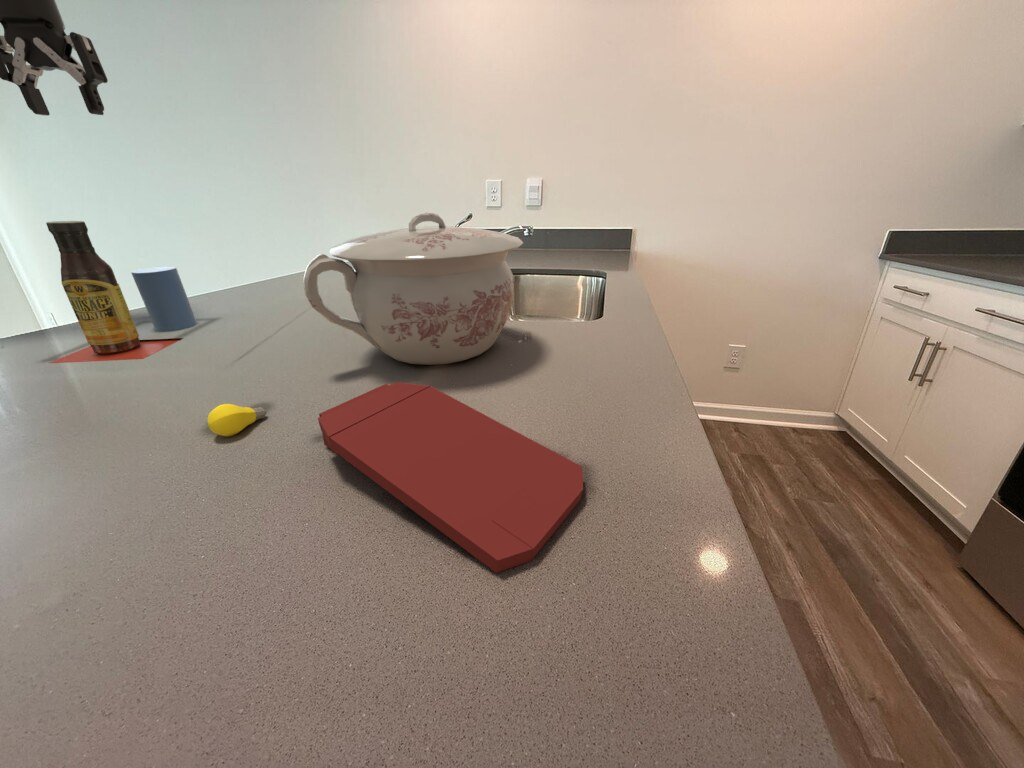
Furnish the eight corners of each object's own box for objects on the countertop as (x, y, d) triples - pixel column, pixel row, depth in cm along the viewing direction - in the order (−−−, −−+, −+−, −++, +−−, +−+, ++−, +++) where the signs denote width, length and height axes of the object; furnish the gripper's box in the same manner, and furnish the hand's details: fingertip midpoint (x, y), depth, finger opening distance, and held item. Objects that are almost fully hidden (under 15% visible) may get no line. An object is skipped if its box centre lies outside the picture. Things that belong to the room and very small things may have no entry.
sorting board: (50, 367, 63) (47, 363, 63) (145, 328, 81) (143, 324, 81) (144, 363, 64) (142, 358, 64) (218, 324, 82) (216, 321, 81)
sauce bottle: (84, 358, 64) (15, 223, 56) (108, 345, 70) (48, 220, 61) (133, 353, 66) (73, 221, 57) (152, 340, 71) (100, 219, 63)
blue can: (147, 334, 75) (121, 273, 70) (171, 324, 80) (148, 267, 75) (184, 333, 75) (160, 272, 70) (204, 322, 81) (184, 265, 76)
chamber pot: (529, 324, 77) (528, 206, 68) (516, 389, 53) (513, 217, 44) (387, 323, 80) (369, 209, 71) (313, 384, 56) (270, 222, 47)
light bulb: (204, 441, 43) (196, 408, 43) (259, 428, 49) (252, 399, 48) (223, 438, 42) (215, 404, 41) (277, 425, 47) (270, 395, 47)
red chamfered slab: (584, 512, 37) (401, 404, 49) (596, 473, 35) (399, 369, 46) (506, 614, 29) (305, 453, 40) (514, 571, 26) (297, 413, 38)
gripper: (-67, -28, 56) (-1, 111, 63) (42, -28, 57) (96, 110, 64) (-9, -5, 63) (45, 118, 70) (88, -5, 64) (132, 117, 71)
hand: (69, 114), depth 67 cm, fingers open, 8 cm apart
